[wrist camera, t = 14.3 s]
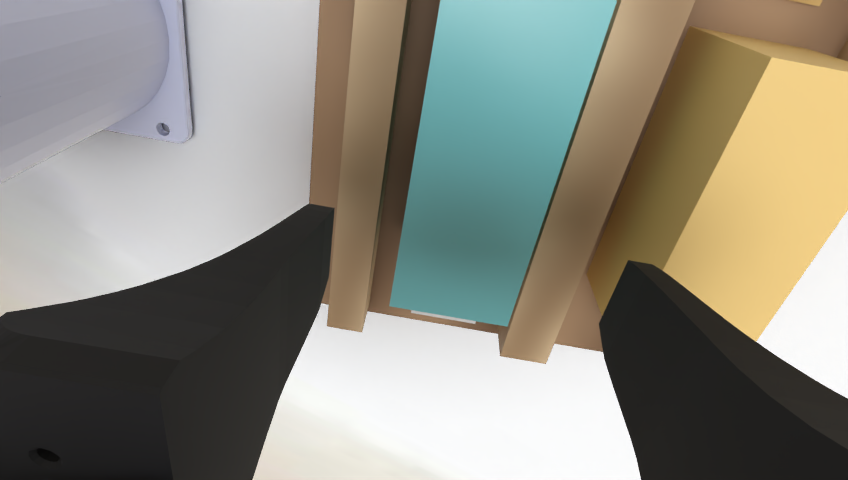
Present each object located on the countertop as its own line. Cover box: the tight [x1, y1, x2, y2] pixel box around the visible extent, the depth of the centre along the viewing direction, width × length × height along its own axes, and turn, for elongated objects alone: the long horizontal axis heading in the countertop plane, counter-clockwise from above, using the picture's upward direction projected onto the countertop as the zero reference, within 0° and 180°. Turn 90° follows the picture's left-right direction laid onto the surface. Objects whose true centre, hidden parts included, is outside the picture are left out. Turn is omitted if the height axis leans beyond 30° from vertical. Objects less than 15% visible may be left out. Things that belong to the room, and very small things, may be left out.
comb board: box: [309, 0, 848, 364], centre depth 19 cm, size 20×17×3 cm
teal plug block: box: [389, 0, 617, 327], centre depth 16 cm, size 4×11×5 cm, turn 170°
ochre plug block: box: [587, 26, 848, 341], centre depth 17 cm, size 4×11×5 cm, turn 170°
